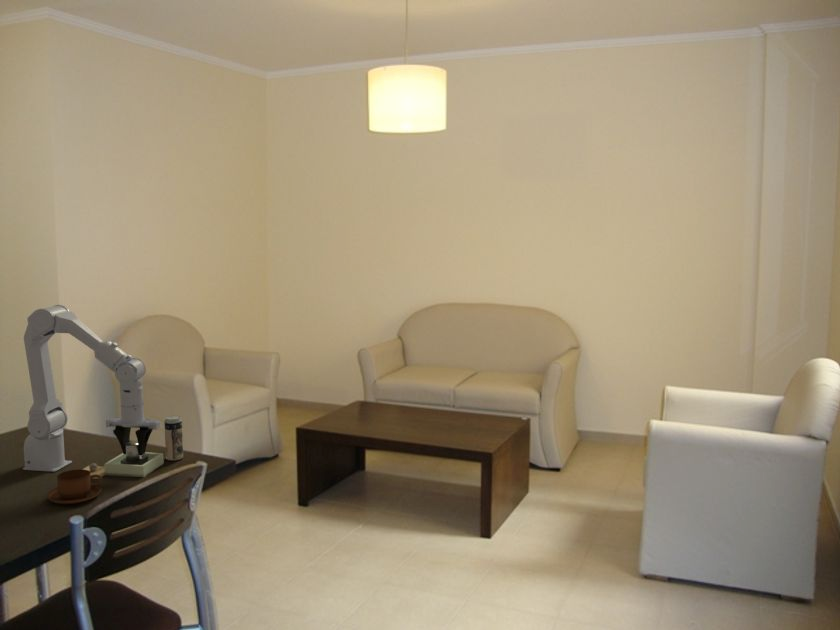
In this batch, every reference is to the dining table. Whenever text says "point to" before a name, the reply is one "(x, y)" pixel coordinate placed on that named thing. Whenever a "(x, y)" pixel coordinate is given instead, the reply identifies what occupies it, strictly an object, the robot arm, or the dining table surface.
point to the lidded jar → (173, 438)
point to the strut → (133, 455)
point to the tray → (133, 466)
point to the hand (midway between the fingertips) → (134, 453)
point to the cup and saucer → (75, 487)
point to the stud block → (95, 470)
